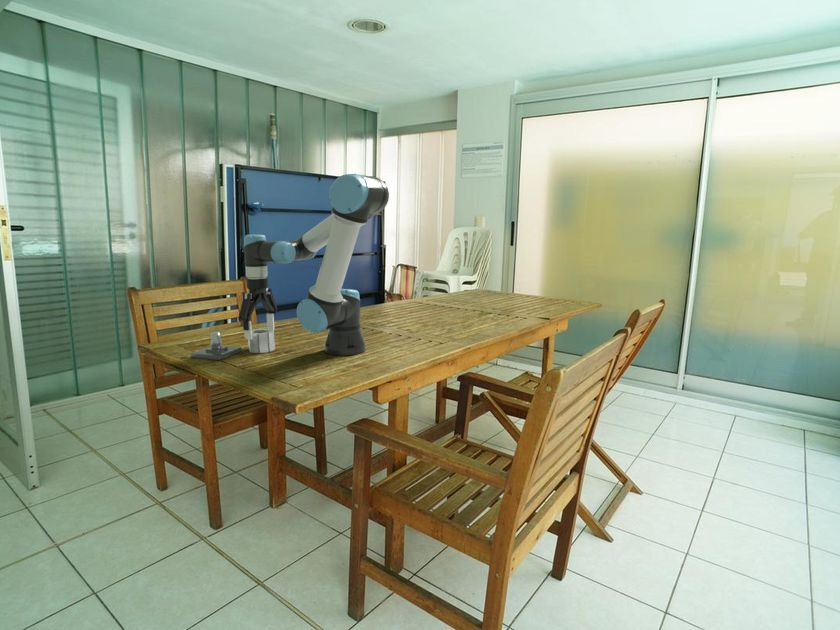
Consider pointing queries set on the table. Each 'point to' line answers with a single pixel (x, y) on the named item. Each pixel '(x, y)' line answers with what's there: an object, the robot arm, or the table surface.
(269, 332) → the ring
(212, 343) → the shaft block
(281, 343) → the table surface
